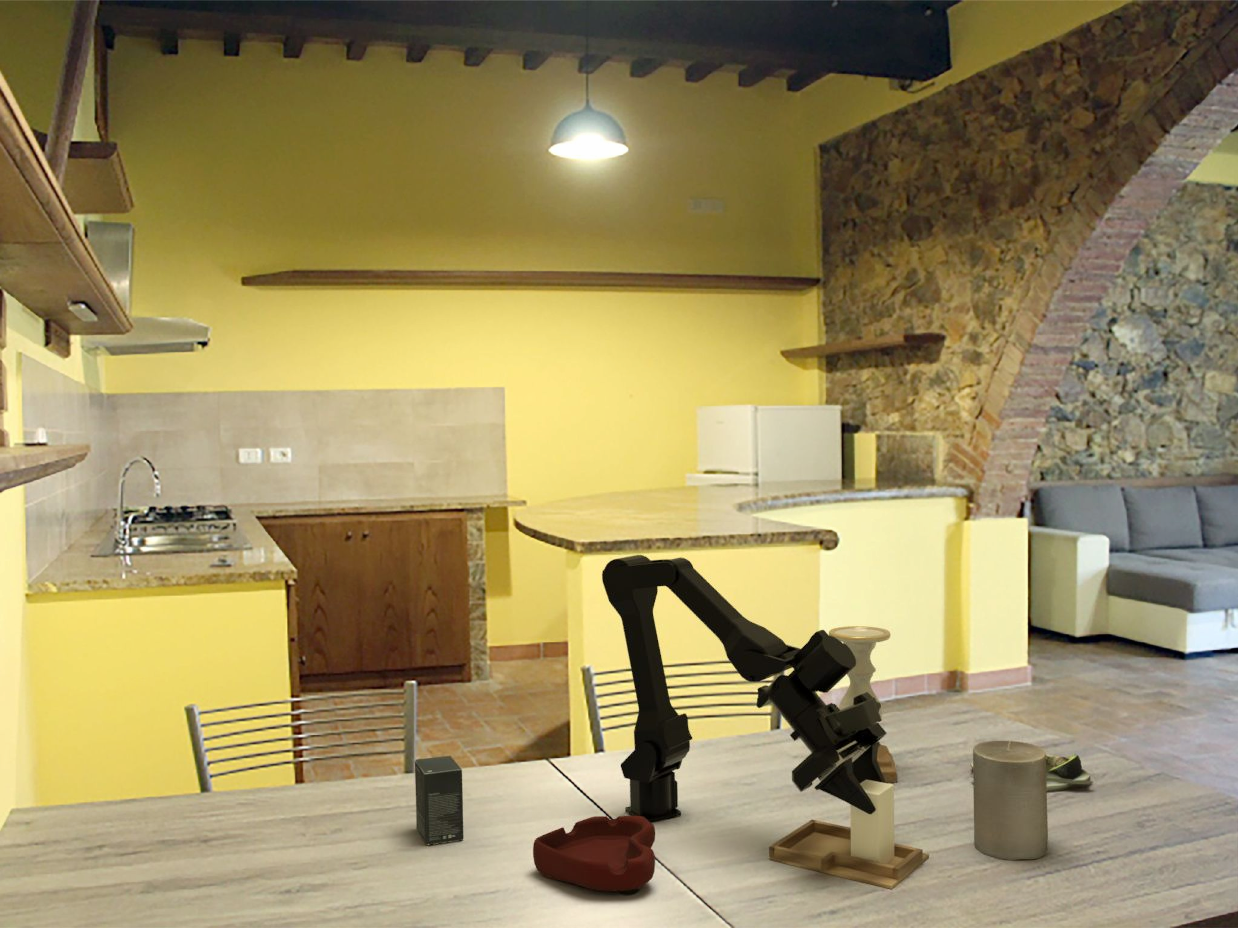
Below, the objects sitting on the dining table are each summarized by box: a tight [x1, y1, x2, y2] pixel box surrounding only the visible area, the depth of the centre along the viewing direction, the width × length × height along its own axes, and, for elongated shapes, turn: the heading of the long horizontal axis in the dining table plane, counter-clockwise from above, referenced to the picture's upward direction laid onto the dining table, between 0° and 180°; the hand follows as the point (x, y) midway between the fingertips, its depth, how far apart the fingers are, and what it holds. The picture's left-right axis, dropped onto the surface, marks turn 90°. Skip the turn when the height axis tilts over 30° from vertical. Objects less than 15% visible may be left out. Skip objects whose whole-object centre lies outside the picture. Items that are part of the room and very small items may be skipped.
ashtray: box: [532, 815, 656, 896], centre depth 153 cm, size 18×16×5 cm
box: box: [414, 755, 464, 846], centre depth 168 cm, size 8×6×11 cm
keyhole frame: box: [768, 819, 930, 890], centre depth 156 cm, size 18×13×2 cm
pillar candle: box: [972, 740, 1049, 861], centre depth 158 cm, size 10×10×15 cm
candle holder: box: [828, 625, 898, 784], centre depth 193 cm, size 11×11×24 cm
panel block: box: [849, 780, 895, 864], centre depth 154 cm, size 4×5×10 cm
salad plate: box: [969, 753, 1094, 792], centre depth 188 cm, size 19×18×5 cm
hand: (881, 806), depth 153 cm, fingers closed on panel block, 5 cm apart
